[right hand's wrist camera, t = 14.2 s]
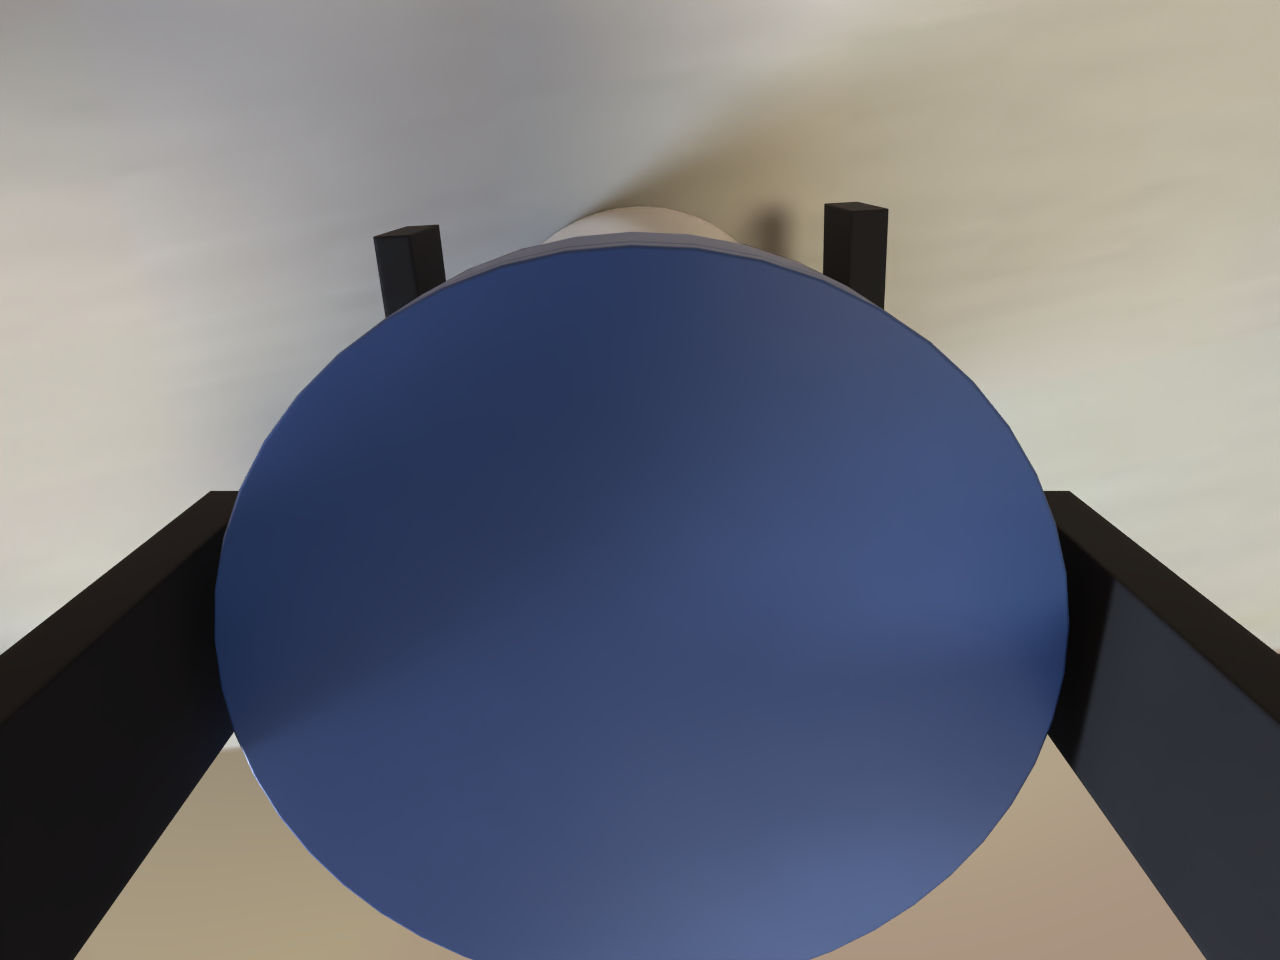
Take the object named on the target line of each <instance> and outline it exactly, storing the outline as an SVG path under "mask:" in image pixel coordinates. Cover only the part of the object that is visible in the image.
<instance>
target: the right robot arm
mask: <svg viewBox="0 0 1280 960" xmlns="http://www.w3.org/2000/svg"><path fill="white" fill-rule="evenodd" d="M238 492H239V491H210V492H209V493H207V494H206V495H205V496H204V497H202V498H201V499H200V500H198V501H197V502H196V503H195V504H193V505H192V506H191V507H190V508H188V509H187V510H186V511H184V512H183V513H182V514H181V515H179V516H178V517H177V518H175V519H174V520H173V521H172V522H170V523H169V524H168V525H166V526H165V527H164V528H163V529H161V530H160V531H159V532H158V533H156V534H155V535H154V536H152V537H151V538H150V539H149V540H147V541H146V542H145V543H143V544H142V545H141V546H140V547H138V548H137V549H136V550H134V551H133V552H132V553H131V554H129V555H128V556H127V557H126V558H124V559H123V560H122V561H120V562H119V563H118V564H117V565H115V566H114V567H113V568H111V569H110V570H109V571H108V572H106V573H105V574H104V575H102V576H101V577H100V578H99V579H97V580H96V581H95V582H94V583H92V584H91V585H90V586H88V587H87V588H86V589H85V590H83V591H82V592H81V593H79V594H78V595H77V596H76V597H74V598H73V599H72V600H70V601H69V602H68V603H67V604H65V605H64V606H63V607H62V608H60V609H59V610H58V611H56V612H55V613H54V614H53V615H51V616H50V617H49V618H47V619H46V620H45V621H44V622H42V623H41V624H40V625H38V626H37V627H36V628H35V629H33V630H32V631H31V632H30V633H28V634H27V635H26V636H24V637H23V638H22V639H21V640H19V641H18V642H17V643H15V644H14V645H13V646H12V647H10V648H9V649H8V650H7V651H5V652H4V653H3V654H1V655H0V960H74V958H75V957H76V955H77V954H78V952H79V951H80V950H81V948H82V947H83V945H84V944H85V943H86V941H87V940H88V938H89V937H90V935H91V934H92V933H93V931H94V930H95V928H96V927H97V925H98V924H99V923H100V921H101V920H102V918H103V917H104V915H105V914H106V913H107V911H108V910H109V908H110V907H111V906H112V904H113V903H114V901H115V900H116V899H117V897H118V896H119V894H120V893H121V891H122V890H123V889H124V887H125V886H126V884H127V883H128V881H129V880H130V879H131V877H132V876H133V874H134V873H135V872H136V870H137V869H138V867H139V866H140V864H141V863H142V861H143V860H144V859H145V857H146V856H147V855H148V853H149V852H150V850H151V849H152V847H153V846H154V845H155V843H156V842H157V840H158V839H159V837H160V836H161V835H162V833H163V832H164V830H165V829H166V827H167V826H168V825H169V823H170V822H171V820H172V819H173V818H174V816H175V815H176V813H177V812H178V810H179V809H180V808H181V806H182V805H183V803H184V802H185V801H186V799H187V798H188V796H189V795H190V793H191V792H192V791H193V789H194V788H195V786H196V785H197V784H198V782H199V781H200V779H201V778H202V776H203V775H204V774H205V772H206V771H207V769H208V768H209V766H210V765H211V764H212V762H213V761H214V759H215V758H216V757H217V755H218V754H219V752H220V751H221V749H222V748H223V747H224V745H225V744H226V742H227V741H228V740H229V738H230V737H231V735H232V734H233V732H234V729H233V726H232V722H231V719H230V716H229V712H228V709H227V705H226V702H225V699H224V695H223V692H222V689H221V683H220V676H219V669H218V662H217V654H216V647H215V640H214V628H215V585H216V579H217V573H218V567H219V561H220V555H221V549H222V543H223V538H224V535H225V532H226V529H227V526H228V523H229V520H230V517H231V514H232V511H233V508H234V505H235V502H236V498H237V495H238ZM1043 492H1044V494H1045V497H1046V500H1047V502H1048V505H1049V507H1050V510H1051V513H1052V515H1053V518H1054V520H1055V523H1056V527H1057V532H1058V537H1059V541H1060V546H1061V551H1062V555H1063V560H1064V565H1065V569H1066V575H1067V593H1068V610H1069V633H1068V643H1067V654H1066V664H1065V674H1064V678H1063V682H1062V686H1061V690H1060V694H1059V698H1058V702H1057V706H1056V710H1055V714H1054V718H1053V721H1052V724H1051V726H1050V729H1049V731H1048V733H1047V734H1048V735H1049V737H1050V738H1051V740H1052V741H1053V742H1054V744H1055V745H1056V747H1057V748H1058V749H1059V751H1060V752H1061V754H1062V755H1063V757H1064V758H1065V759H1066V761H1067V762H1068V764H1069V765H1070V767H1071V768H1072V769H1073V771H1074V772H1075V774H1076V775H1077V776H1078V778H1079V779H1080V781H1081V782H1082V783H1083V785H1084V786H1085V788H1086V789H1087V791H1088V792H1089V794H1090V795H1091V796H1092V798H1093V799H1094V800H1095V802H1096V803H1097V805H1098V806H1099V808H1100V809H1101V810H1102V812H1103V813H1104V815H1105V816H1106V818H1107V819H1108V820H1109V822H1110V823H1111V825H1112V826H1113V828H1114V829H1115V830H1116V832H1117V833H1118V835H1119V836H1120V837H1121V839H1122V840H1123V842H1124V843H1125V845H1126V846H1127V847H1128V849H1129V850H1130V852H1131V853H1132V854H1133V856H1134V857H1135V859H1136V860H1137V862H1138V863H1139V864H1140V866H1141V867H1142V869H1143V870H1144V872H1145V873H1146V874H1147V876H1148V877H1149V879H1150V880H1151V881H1152V883H1153V884H1154V886H1155V887H1156V889H1157V890H1158V891H1159V893H1160V894H1161V896H1162V897H1163V899H1164V900H1165V901H1166V903H1167V904H1168V906H1169V907H1170V908H1171V910H1172V911H1173V913H1174V914H1175V916H1176V917H1177V918H1178V920H1179V921H1180V923H1181V924H1182V925H1183V927H1184V928H1185V930H1186V931H1187V933H1188V934H1189V935H1190V937H1191V938H1192V940H1193V941H1194V943H1195V944H1196V945H1197V947H1198V948H1199V950H1200V951H1201V952H1202V954H1203V955H1204V957H1205V958H1206V960H1280V654H1277V653H1276V652H1275V651H1273V650H1272V649H1271V648H1270V647H1268V646H1267V645H1266V644H1265V643H1263V642H1262V641H1261V640H1259V639H1258V638H1257V637H1256V636H1254V635H1253V634H1252V633H1250V632H1249V631H1248V630H1247V629H1245V628H1244V627H1243V626H1241V625H1240V624H1239V623H1238V622H1236V621H1235V620H1234V619H1233V618H1231V617H1230V616H1229V615H1227V614H1226V613H1225V612H1224V611H1222V610H1221V609H1220V608H1218V607H1217V606H1216V605H1215V604H1213V603H1212V602H1211V601H1209V600H1208V599H1207V598H1206V597H1204V596H1203V595H1202V594H1201V593H1199V592H1198V591H1197V590H1195V589H1194V588H1193V587H1192V586H1190V585H1189V584H1188V583H1186V582H1185V581H1184V580H1183V579H1181V578H1180V577H1179V576H1177V575H1176V574H1175V573H1174V572H1172V571H1171V570H1170V569H1169V568H1167V567H1166V566H1165V565H1163V564H1162V563H1161V562H1160V561H1158V560H1157V559H1156V558H1154V557H1153V556H1152V555H1151V554H1149V553H1148V552H1147V551H1145V550H1144V549H1143V548H1142V547H1140V546H1139V545H1138V544H1137V543H1135V542H1134V541H1133V540H1131V539H1130V538H1129V537H1128V536H1126V535H1125V534H1124V533H1122V532H1121V531H1120V530H1119V529H1117V528H1116V527H1115V526H1113V525H1112V524H1111V523H1110V522H1108V521H1107V520H1106V519H1105V518H1103V517H1102V516H1101V515H1099V514H1098V513H1097V512H1096V511H1094V510H1093V509H1092V508H1090V507H1089V506H1088V505H1087V504H1085V503H1084V502H1083V501H1081V500H1080V499H1079V498H1078V497H1076V496H1075V495H1074V494H1073V493H1071V492H1070V491H1043Z"/></svg>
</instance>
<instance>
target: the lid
mask: <svg viewBox="0 0 1280 960" xmlns="http://www.w3.org/2000/svg"><path fill="white" fill-rule="evenodd" d="M1068 633H1069V610H1068V593H1067V575H1066V569H1065V565H1064V560H1063V555H1062V551H1061V546H1060V541H1059V537H1058V532H1057V527H1056V523H1055V520H1054V518H1053V515H1052V513H1051V510H1050V507H1049V505H1048V502H1047V500H1046V497H1045V494H1044V492H1043V489H1042V487H1041V484H1040V481H1039V479H1038V476H1037V474H1036V472H1035V470H1034V468H1033V467H1032V465H1031V463H1030V461H1029V460H1028V458H1027V456H1026V455H1025V453H1024V451H1023V449H1022V448H1021V446H1020V444H1019V442H1018V441H1017V439H1016V437H1015V435H1014V434H1013V432H1012V430H1011V429H1010V427H1009V425H1008V424H1007V423H1006V422H1005V420H1004V419H1003V418H1002V417H1001V415H1000V414H999V413H998V412H997V410H996V409H995V408H994V407H993V405H992V404H991V403H990V402H989V400H988V399H987V398H986V397H985V395H984V394H983V393H982V392H981V390H980V389H979V388H978V387H977V385H976V384H975V383H974V382H973V381H972V380H971V379H970V378H969V377H968V376H967V375H966V374H965V373H963V372H962V371H961V370H960V369H959V368H958V367H957V366H956V365H955V364H954V363H953V362H952V361H950V360H949V359H948V358H947V357H946V356H945V355H944V354H943V353H942V352H941V351H940V350H939V349H937V348H936V347H935V346H934V345H933V344H932V343H931V342H930V341H928V340H927V339H925V338H924V337H922V336H921V335H920V334H918V333H917V332H915V331H914V330H912V329H911V328H909V327H908V326H906V325H905V324H903V323H902V322H901V321H899V320H898V319H896V318H895V317H893V316H892V315H890V314H889V313H887V312H886V311H884V310H883V309H882V308H880V307H879V306H877V305H875V304H874V303H872V302H871V301H869V300H868V299H866V298H865V297H863V296H861V295H860V294H858V293H857V292H855V291H854V290H852V289H851V288H849V287H848V286H846V285H844V284H842V283H840V282H837V281H835V280H833V279H831V278H829V277H827V276H825V275H823V274H821V273H819V272H817V271H815V270H813V269H811V268H809V267H807V266H805V265H803V264H801V263H799V262H796V261H793V260H790V259H787V258H784V257H781V256H778V255H775V254H772V253H769V252H766V251H763V250H760V249H757V248H754V247H751V246H748V245H745V244H740V243H734V242H729V241H723V240H718V239H712V238H707V237H702V236H696V235H691V234H673V233H652V232H622V233H611V234H600V235H589V236H578V237H572V238H568V239H563V240H559V241H555V242H550V243H546V244H542V245H537V246H533V247H529V248H524V249H520V250H518V251H515V252H512V253H510V254H507V255H504V256H502V257H499V258H496V259H494V260H491V261H489V262H486V263H483V264H481V265H478V266H475V267H473V268H470V269H468V270H466V271H464V272H462V273H461V274H459V275H457V276H455V277H453V278H452V279H450V280H448V281H446V282H444V283H442V284H441V285H439V286H437V287H435V288H433V289H432V290H430V291H428V292H426V293H424V294H422V295H421V296H419V297H418V298H416V299H415V300H413V301H411V302H410V303H408V304H407V305H405V306H404V307H402V308H401V309H399V310H398V311H396V312H395V313H393V314H391V315H390V316H388V317H387V318H385V319H384V320H383V321H381V322H380V323H379V324H377V325H376V326H375V327H373V328H372V329H371V330H369V331H368V332H367V333H365V334H364V335H363V336H361V337H360V338H359V339H357V340H356V341H355V342H353V343H352V344H351V345H349V346H348V347H347V348H346V349H344V350H343V351H342V352H340V353H339V354H338V355H337V356H336V357H335V358H334V359H333V360H332V361H331V362H330V363H329V364H328V365H327V366H326V367H325V368H324V369H323V370H322V371H321V372H320V373H319V374H318V375H317V376H316V377H315V378H314V379H313V380H312V381H311V382H310V383H309V384H308V385H307V386H306V387H305V388H304V389H303V390H302V391H301V392H300V393H299V394H298V395H297V397H296V398H295V399H294V401H293V402H292V404H291V405H290V406H289V408H288V409H287V410H286V412H285V413H284V415H283V416H282V417H281V419H280V420H279V421H278V423H277V424H276V426H275V427H274V428H273V430H272V431H271V432H270V434H269V435H268V437H267V438H266V439H265V441H264V443H263V445H262V446H261V448H260V450H259V452H258V454H257V456H256V458H255V460H254V462H253V464H252V466H251V468H250V470H249V472H248V474H247V476H246V478H245V480H244V482H243V483H242V485H241V487H240V489H239V492H238V495H237V498H236V502H235V505H234V508H233V511H232V514H231V517H230V520H229V523H228V526H227V529H226V532H225V535H224V538H223V543H222V549H221V555H220V561H219V567H218V573H217V579H216V585H215V628H214V640H215V647H216V654H217V662H218V669H219V676H220V683H221V689H222V692H223V695H224V699H225V702H226V705H227V709H228V712H229V716H230V719H231V722H232V726H233V729H234V733H235V735H236V737H237V739H238V742H239V744H240V746H241V748H242V750H243V753H244V755H245V757H246V759H247V761H248V764H249V766H250V768H251V770H252V772H253V775H254V777H255V778H256V780H257V781H258V783H259V785H260V786H261V788H262V789H263V791H264V793H265V794H266V796H267V797H268V799H269V800H270V802H271V804H272V805H273V807H274V808H275V810H276V812H277V813H278V815H279V816H280V818H281V819H282V820H283V821H284V822H285V824H286V825H287V826H288V827H289V828H290V830H291V831H292V832H293V833H294V835H295V836H296V837H297V838H298V839H299V841H300V842H301V843H302V844H303V845H304V847H305V848H306V849H307V850H308V852H309V853H310V854H311V855H312V856H313V857H315V858H316V859H317V860H318V861H319V862H320V863H321V864H322V865H323V866H324V867H325V868H326V869H327V870H328V871H329V872H330V873H331V874H332V875H333V876H334V877H336V878H337V879H338V880H339V881H340V882H341V883H342V884H343V885H344V886H346V887H347V888H348V889H350V890H351V891H352V892H353V893H355V894H356V895H357V896H359V897H360V898H361V899H363V900H364V901H365V902H367V903H368V904H369V905H371V906H372V907H373V908H375V909H376V910H377V911H379V912H380V913H381V914H383V915H385V916H387V917H388V918H390V919H392V920H393V921H395V922H397V923H398V924H400V925H402V926H403V927H405V928H407V929H409V930H410V931H412V932H414V933H415V934H417V935H419V936H420V937H422V938H424V939H427V940H429V941H431V942H433V943H435V944H438V945H440V946H442V947H444V948H446V949H448V950H451V951H453V952H455V953H457V954H459V955H462V956H464V957H467V958H470V959H472V960H810V959H813V958H815V957H818V956H821V955H823V954H826V953H829V952H831V951H833V950H835V949H838V948H840V947H842V946H844V945H846V944H848V943H850V942H852V941H854V940H856V939H858V938H860V937H862V936H864V935H866V934H868V933H870V932H872V931H874V930H876V929H877V928H879V927H880V926H882V925H883V924H885V923H886V922H888V921H890V920H891V919H893V918H894V917H896V916H897V915H899V914H901V913H902V912H904V911H905V910H907V909H908V908H910V907H912V906H913V905H915V904H916V903H917V902H918V901H919V900H921V899H922V898H923V897H924V896H926V895H927V894H928V893H929V892H931V891H932V890H933V889H934V888H936V887H937V886H938V885H939V884H940V883H942V882H943V881H944V880H945V879H947V878H948V877H949V876H950V875H951V874H952V873H953V872H954V871H955V870H956V869H957V868H958V867H959V866H960V865H961V864H962V863H963V862H964V861H965V860H966V859H967V858H968V857H969V856H970V855H971V854H972V853H973V852H974V851H975V850H976V849H977V848H978V847H979V846H980V845H981V844H982V843H983V842H984V840H985V839H986V838H987V836H988V835H989V834H990V832H991V831H992V830H993V828H994V827H995V826H996V824H997V823H998V822H999V821H1000V819H1001V818H1002V817H1003V815H1004V814H1005V813H1006V811H1007V810H1008V809H1009V807H1010V806H1011V805H1012V803H1013V801H1014V800H1015V798H1016V796H1017V794H1018V793H1019V791H1020V789H1021V788H1022V786H1023V784H1024V782H1025V781H1026V779H1027V777H1028V775H1029V774H1030V772H1031V770H1032V768H1033V767H1034V765H1035V763H1036V760H1037V758H1038V756H1039V753H1040V751H1041V748H1042V746H1043V743H1044V741H1045V738H1046V736H1047V733H1048V731H1049V729H1050V726H1051V724H1052V721H1053V718H1054V714H1055V710H1056V706H1057V702H1058V698H1059V694H1060V690H1061V686H1062V682H1063V678H1064V674H1065V664H1066V654H1067V643H1068Z"/></svg>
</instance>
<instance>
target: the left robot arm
mask: <svg viewBox="0 0 1280 960" xmlns="http://www.w3.org/2000/svg"><path fill="white" fill-rule="evenodd" d="M887 229H888V209H886V208H882V207H878V206H873V205H869V204H864V203H860V202H847V203H828V204H825V206H824V255H823V275H825V276H827V277H829V278H831V279H833V280H835V281H837V282H840V283H842V284H844V285H846V286H848V287H849V288H851V289H852V290H854V291H855V292H857V293H858V294H860V295H861V296H863V297H865V298H866V299H868V300H869V301H871V302H872V303H874V304H875V305H877V306H879V307H880V308H882V309H883V310H884V296H885V274H886V252H887ZM373 238H374V245H375V251H376V258H377V264H378V271H379V277H380V284H381V290H382V297H383V303H384V310H385V316H386V318H387V317H388V316H390V315H391V314H393V313H395V312H396V311H398V310H399V309H401V308H402V307H404V306H405V305H407V304H408V303H410V302H411V301H413V300H415V299H416V298H418V297H419V296H421V295H422V294H424V293H426V292H428V291H430V290H432V289H433V288H435V287H437V286H439V285H441V284H442V283H444V282H446V278H445V270H444V262H443V254H442V246H441V238H440V231H439V225H424V226H406V227H403V228H400V229H397V230H394V231H390V232H387V233H384V234H381V235H378V236H375V237H373Z"/></svg>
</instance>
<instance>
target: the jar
mask: <svg viewBox="0 0 1280 960" xmlns="http://www.w3.org/2000/svg"><path fill="white" fill-rule="evenodd" d="M622 232H652V233H673V234H691V235H696V236H702V237H707V238H712V239H718V240H723V241H729V242H734V243H738V242H737V241H736V240H735V239H733V238H732V237H731V236H729V235H728V234H726V233H725V232H724V231H722V230H721V229H719V228H718V227H716V226H714V225H712V224H710V223H708V222H706V221H704V220H702V219H700V218H698V217H695V216H692V215H689V214H686V213H683V212H680V211H676V210H671V209H666V208H660V207H645V206H634V207H623V208H615V209H611V210H607V211H602V212H598V213H595V214H593V215H590V216H587V217H585V218H582V219H580V220H577V221H576V222H574V223H572V224H570V225H568V226H567V227H565V228H563V229H561V230H560V231H558V232H557V233H556V234H554V235H553V236H552V237H550V238H549V239H548V240H546V241H545V242H544V243H543V244H546V243H550V242H555V241H559V240H563V239H568V238H572V237H578V236H589V235H600V234H611V233H622Z"/></svg>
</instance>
